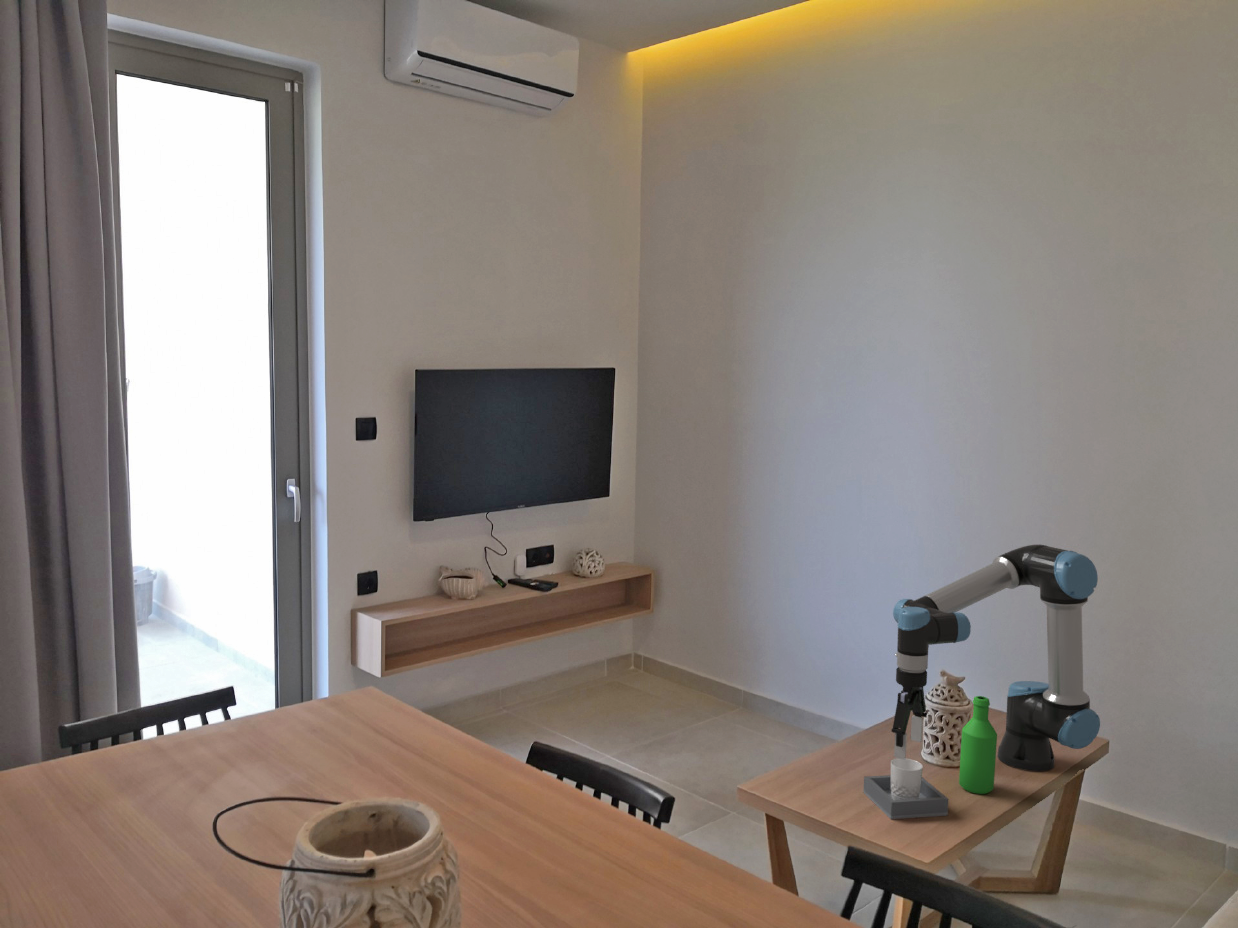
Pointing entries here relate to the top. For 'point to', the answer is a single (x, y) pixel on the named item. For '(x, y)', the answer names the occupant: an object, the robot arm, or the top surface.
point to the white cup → (905, 779)
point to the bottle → (978, 750)
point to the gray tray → (925, 806)
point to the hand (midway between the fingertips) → (908, 749)
